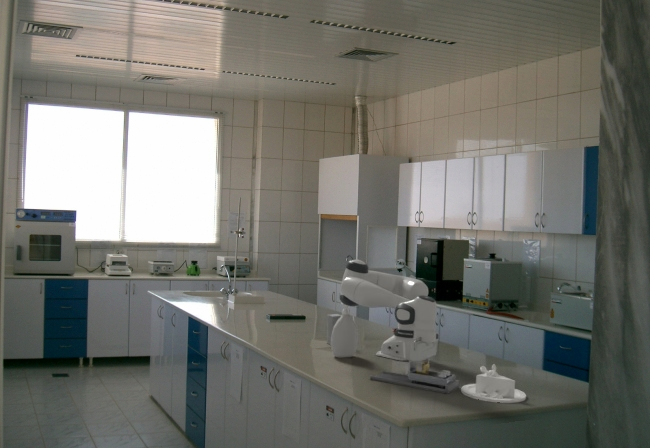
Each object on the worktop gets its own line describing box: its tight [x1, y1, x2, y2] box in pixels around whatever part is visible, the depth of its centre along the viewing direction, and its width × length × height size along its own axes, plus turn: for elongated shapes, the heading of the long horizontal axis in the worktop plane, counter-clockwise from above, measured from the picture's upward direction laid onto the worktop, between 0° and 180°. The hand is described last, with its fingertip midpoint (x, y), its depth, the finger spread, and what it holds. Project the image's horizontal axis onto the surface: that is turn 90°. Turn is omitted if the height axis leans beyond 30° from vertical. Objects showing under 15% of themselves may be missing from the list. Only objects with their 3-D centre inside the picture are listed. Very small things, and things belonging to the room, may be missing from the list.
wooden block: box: [416, 361, 430, 375], centre depth 269 cm, size 4×4×4 cm
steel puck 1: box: [437, 371, 446, 379], centre depth 262 cm, size 3×3×3 cm
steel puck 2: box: [441, 369, 451, 378], centre depth 266 cm, size 3×3×3 cm
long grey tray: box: [407, 360, 456, 389], centre depth 267 cm, size 17×10×9 cm, turn 59°
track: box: [370, 370, 460, 395], centre depth 271 cm, size 34×12×3 cm, turn 59°
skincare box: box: [326, 313, 342, 346], centre depth 347 cm, size 8×7×16 cm
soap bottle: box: [330, 301, 359, 359], centre depth 318 cm, size 14×8×27 cm, turn 117°
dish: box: [460, 363, 527, 404], centre depth 260 cm, size 25×25×11 cm
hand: (422, 369), depth 269 cm, fingers closed on wooden block, 4 cm apart
